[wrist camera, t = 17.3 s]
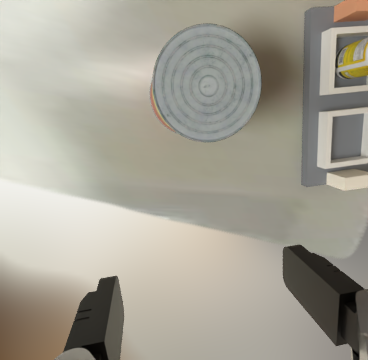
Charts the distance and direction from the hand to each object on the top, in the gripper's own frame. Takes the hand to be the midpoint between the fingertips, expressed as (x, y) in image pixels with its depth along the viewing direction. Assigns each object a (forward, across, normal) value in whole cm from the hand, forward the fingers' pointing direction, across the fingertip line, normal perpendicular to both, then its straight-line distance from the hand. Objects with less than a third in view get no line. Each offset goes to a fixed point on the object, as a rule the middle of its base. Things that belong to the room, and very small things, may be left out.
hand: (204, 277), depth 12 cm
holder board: (+28, -29, -7) cm, 41 cm away
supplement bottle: (+27, -29, -12) cm, 41 cm away
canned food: (+28, -5, -10) cm, 31 cm away
